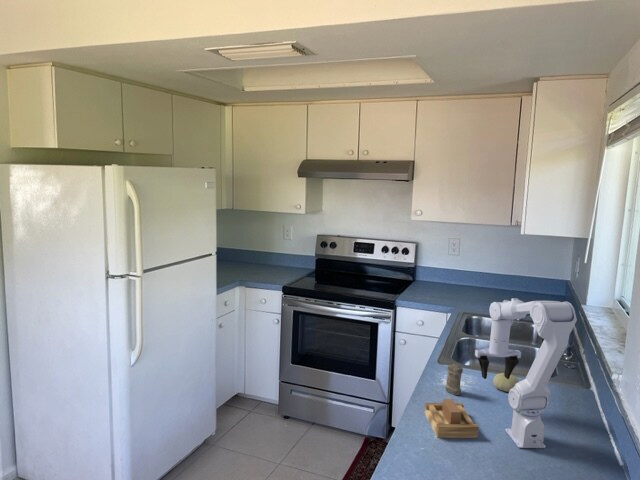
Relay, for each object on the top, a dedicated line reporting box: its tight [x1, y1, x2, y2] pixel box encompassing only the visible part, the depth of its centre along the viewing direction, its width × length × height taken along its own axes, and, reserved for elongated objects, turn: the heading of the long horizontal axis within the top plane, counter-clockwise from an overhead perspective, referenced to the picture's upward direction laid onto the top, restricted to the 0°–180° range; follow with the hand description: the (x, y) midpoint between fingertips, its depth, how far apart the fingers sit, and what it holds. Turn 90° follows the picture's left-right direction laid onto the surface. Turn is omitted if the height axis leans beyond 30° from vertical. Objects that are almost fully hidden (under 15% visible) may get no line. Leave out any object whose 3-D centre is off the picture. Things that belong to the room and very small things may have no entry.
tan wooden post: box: [442, 398, 461, 424], centre depth 151 cm, size 8×3×4 cm, turn 4°
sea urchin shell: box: [492, 372, 520, 393], centre depth 179 cm, size 9×8×8 cm
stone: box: [445, 362, 464, 396], centre depth 173 cm, size 3×6×10 cm, turn 43°
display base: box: [423, 402, 479, 439], centre depth 152 cm, size 14×12×4 cm
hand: (495, 377), depth 163 cm, fingers open, 7 cm apart
